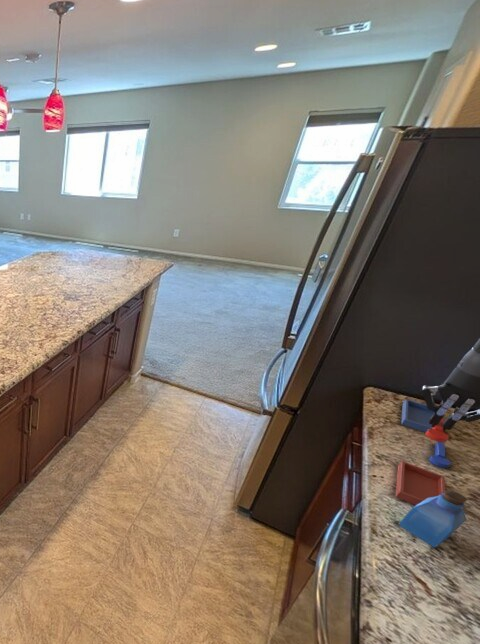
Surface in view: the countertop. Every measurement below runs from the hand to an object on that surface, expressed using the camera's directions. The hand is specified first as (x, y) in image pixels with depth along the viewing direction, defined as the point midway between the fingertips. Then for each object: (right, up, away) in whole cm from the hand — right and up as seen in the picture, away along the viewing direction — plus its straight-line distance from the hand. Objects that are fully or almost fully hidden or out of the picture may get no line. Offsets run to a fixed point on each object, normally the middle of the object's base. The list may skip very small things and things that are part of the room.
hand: (437, 427), depth 98 cm
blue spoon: (+11, -10, +9) cm, 17 cm away
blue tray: (+21, -2, +22) cm, 31 cm away
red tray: (-5, -16, 0) cm, 17 cm away
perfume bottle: (-16, -22, -10) cm, 29 cm away
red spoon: (0, -1, 0) cm, 1 cm away
